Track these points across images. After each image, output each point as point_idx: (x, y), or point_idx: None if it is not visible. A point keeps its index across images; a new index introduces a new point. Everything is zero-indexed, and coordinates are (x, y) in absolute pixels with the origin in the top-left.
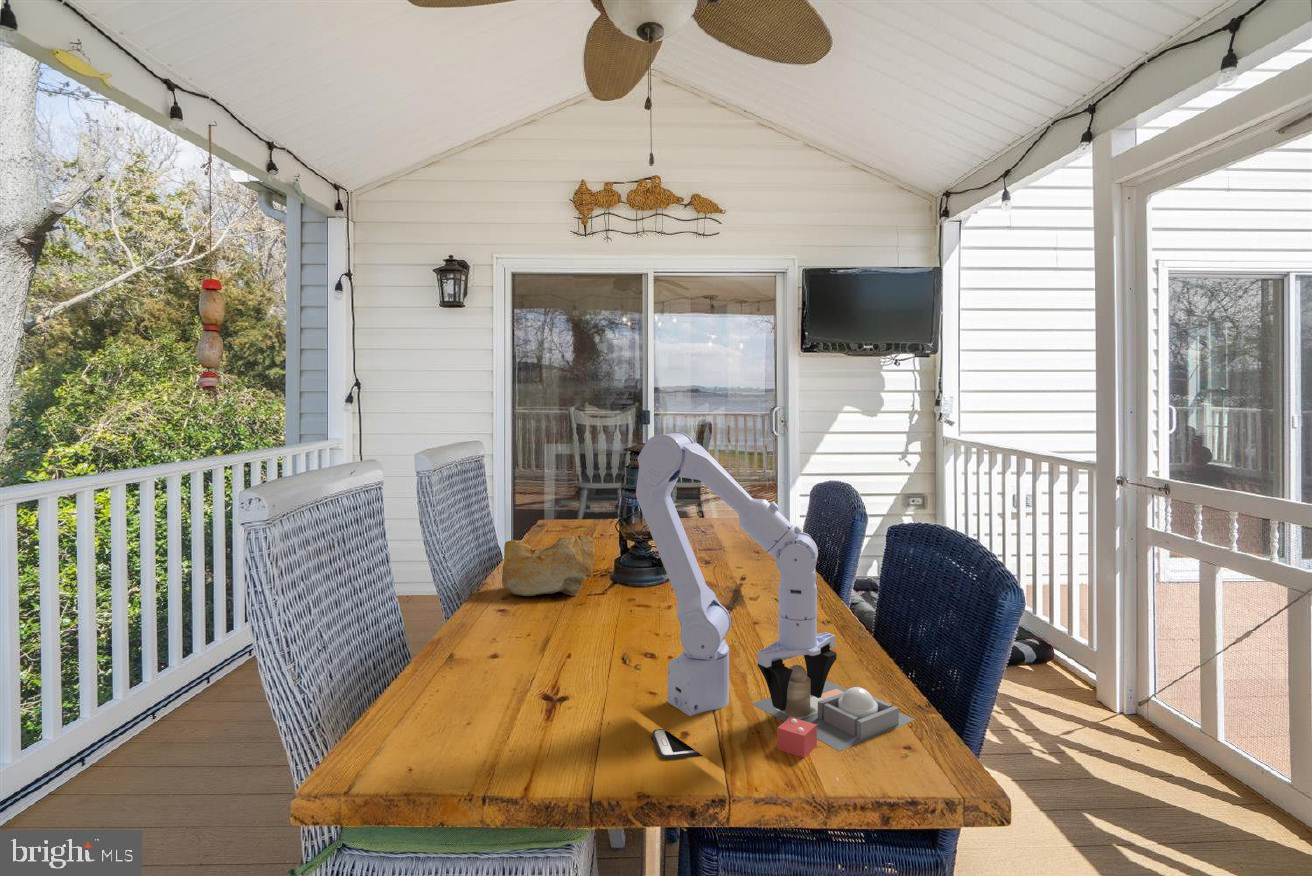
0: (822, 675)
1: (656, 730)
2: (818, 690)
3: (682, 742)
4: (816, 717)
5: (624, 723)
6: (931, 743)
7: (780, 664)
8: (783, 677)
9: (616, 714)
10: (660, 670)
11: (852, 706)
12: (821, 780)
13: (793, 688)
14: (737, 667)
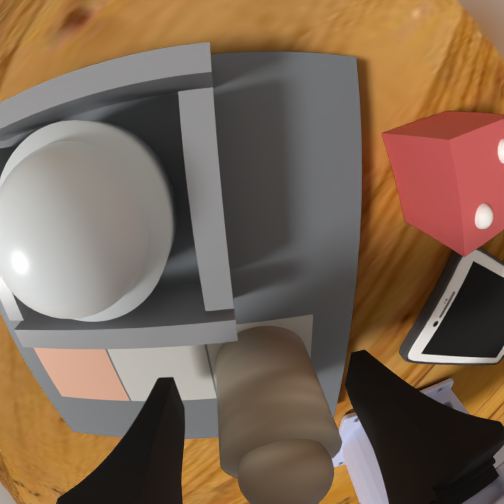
0: (152, 451)
1: (496, 362)
2: (169, 401)
3: None
4: (235, 302)
5: (484, 391)
6: (8, 30)
7: (451, 492)
8: (475, 426)
9: (469, 412)
10: (328, 498)
11: (132, 187)
12: (449, 40)
13: (332, 418)
14: (213, 498)
